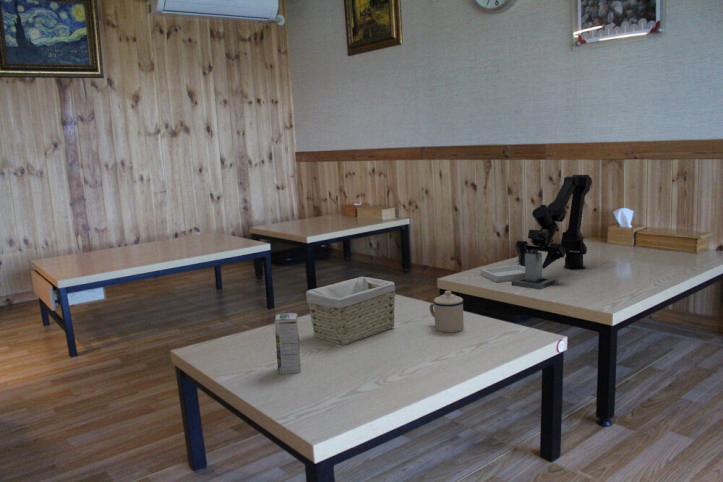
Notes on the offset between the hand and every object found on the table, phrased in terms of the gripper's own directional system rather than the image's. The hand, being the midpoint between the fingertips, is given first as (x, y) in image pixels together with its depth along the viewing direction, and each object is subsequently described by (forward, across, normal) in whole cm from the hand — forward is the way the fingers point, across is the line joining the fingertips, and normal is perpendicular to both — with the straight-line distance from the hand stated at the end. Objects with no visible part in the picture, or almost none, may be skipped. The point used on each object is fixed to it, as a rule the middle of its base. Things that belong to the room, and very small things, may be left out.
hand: (531, 266), depth 229 cm
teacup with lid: (+48, +6, -38) cm, 62 cm away
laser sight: (-16, -20, +26) cm, 36 cm away
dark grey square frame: (+4, 0, +6) cm, 7 cm away
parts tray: (0, -15, +10) cm, 18 cm away
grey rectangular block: (+4, 0, +6) cm, 7 cm away
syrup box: (+85, -5, -74) cm, 113 cm away
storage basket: (+62, -14, -52) cm, 82 cm away
